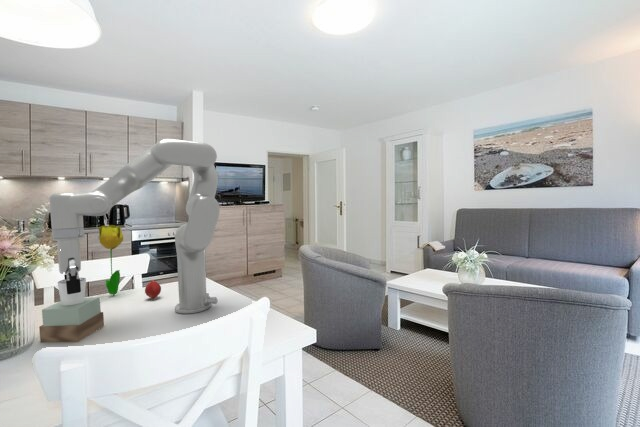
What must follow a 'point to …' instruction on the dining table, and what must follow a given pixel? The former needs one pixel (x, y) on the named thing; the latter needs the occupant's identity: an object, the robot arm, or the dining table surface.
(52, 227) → the robot arm
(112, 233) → the flower
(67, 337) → the tower base block
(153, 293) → the onion
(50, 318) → the tower top block
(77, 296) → the white cup
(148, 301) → the dining table surface
